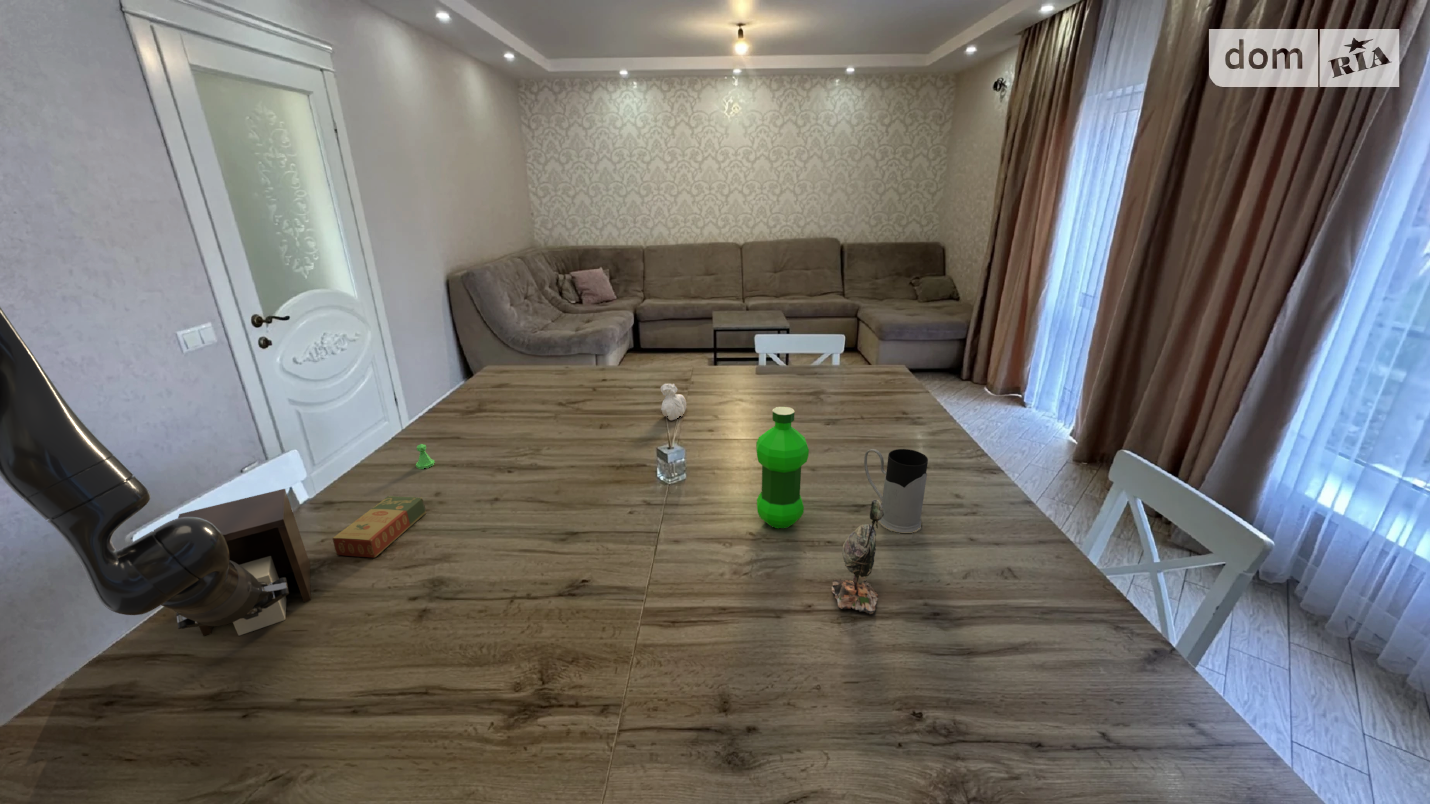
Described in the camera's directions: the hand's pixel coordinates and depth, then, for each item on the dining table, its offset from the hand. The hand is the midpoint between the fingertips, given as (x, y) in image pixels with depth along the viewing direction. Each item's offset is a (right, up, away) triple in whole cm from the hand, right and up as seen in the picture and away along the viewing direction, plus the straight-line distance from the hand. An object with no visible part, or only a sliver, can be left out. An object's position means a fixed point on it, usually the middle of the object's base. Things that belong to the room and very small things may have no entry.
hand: (251, 611), depth 86 cm
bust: (+60, +28, +84) cm, 106 cm away
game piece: (-1, +16, +54) cm, 57 cm away
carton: (+5, +6, +26) cm, 27 cm away
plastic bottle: (+86, +8, +29) cm, 91 cm away
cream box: (-2, -3, +4) cm, 5 cm away
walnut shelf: (-6, -1, +9) cm, 11 cm away
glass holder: (+109, +8, +31) cm, 114 cm away
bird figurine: (+96, 0, +9) cm, 97 cm away
